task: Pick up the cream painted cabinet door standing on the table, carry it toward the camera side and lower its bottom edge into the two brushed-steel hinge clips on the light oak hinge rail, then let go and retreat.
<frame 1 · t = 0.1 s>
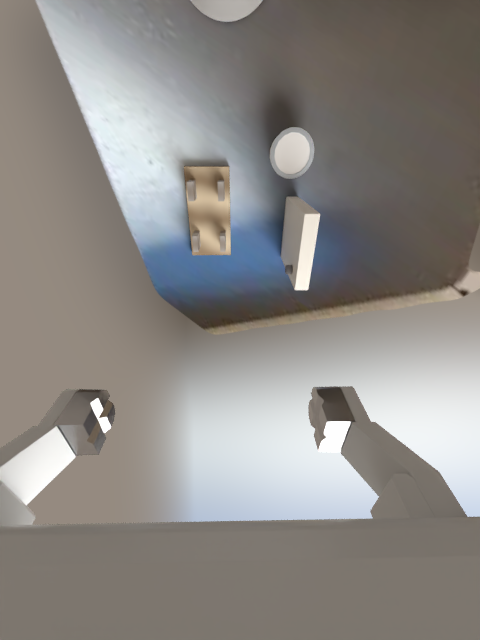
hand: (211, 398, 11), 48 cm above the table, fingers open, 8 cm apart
hinge rail: (209, 213, 52), on the table
shot glass: (285, 153, 47), on the table
door: (288, 228, 54), on the table
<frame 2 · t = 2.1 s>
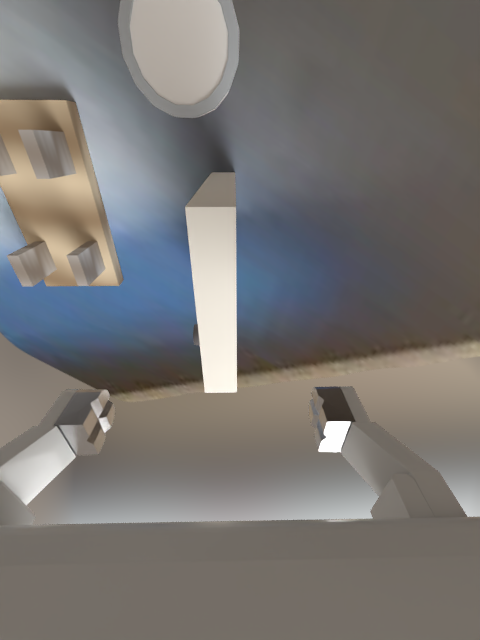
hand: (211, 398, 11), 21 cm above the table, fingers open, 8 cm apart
hinge rail: (63, 206, 26), on the table
shot glass: (195, 71, 21), on the table
door: (225, 236, 28), on the table
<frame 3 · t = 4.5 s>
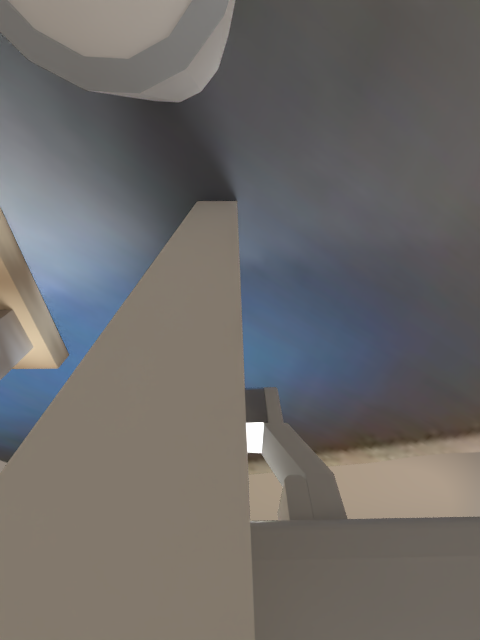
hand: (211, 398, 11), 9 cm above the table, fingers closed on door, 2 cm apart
shot glass: (161, 15, 11), on the table
door: (221, 296, 18), on the table, touching gripper
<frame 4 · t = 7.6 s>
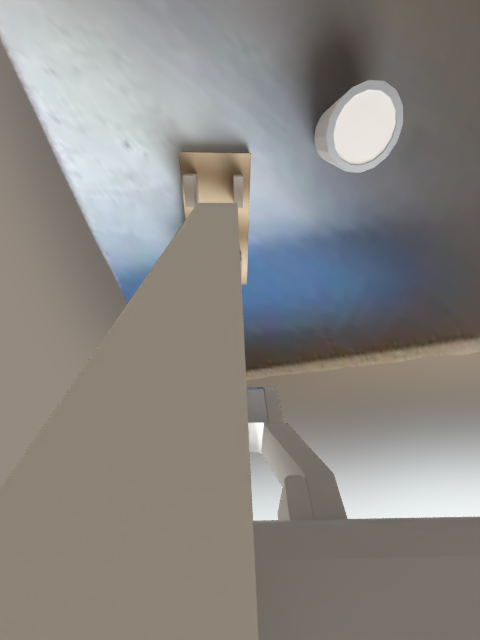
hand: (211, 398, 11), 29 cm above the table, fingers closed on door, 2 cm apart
hinge rail: (217, 224, 35), on the table
shot glass: (338, 134, 30), on the table
door: (221, 298, 18), point 20 cm above the table, touching gripper
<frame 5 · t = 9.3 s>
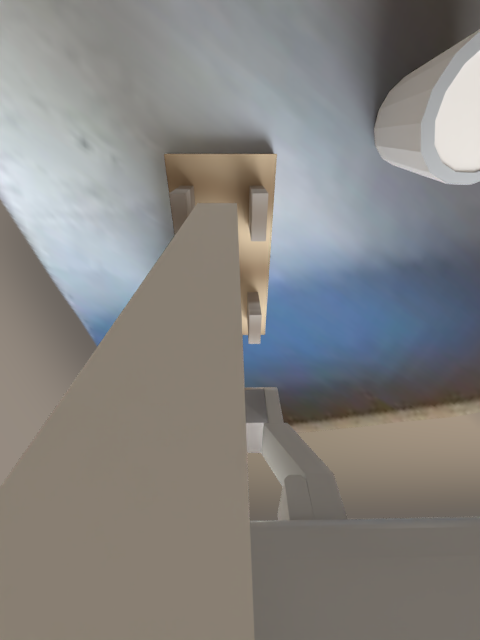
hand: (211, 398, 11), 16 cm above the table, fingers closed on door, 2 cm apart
hinge rail: (224, 256, 24), on the table
shot glass: (412, 121, 19), on the table
door: (221, 298, 18), point 8 cm above the table, touching gripper
when the fingers open (11 cm above the table, at t = 10.8 s): door stays where it is, resting on hinge rail.
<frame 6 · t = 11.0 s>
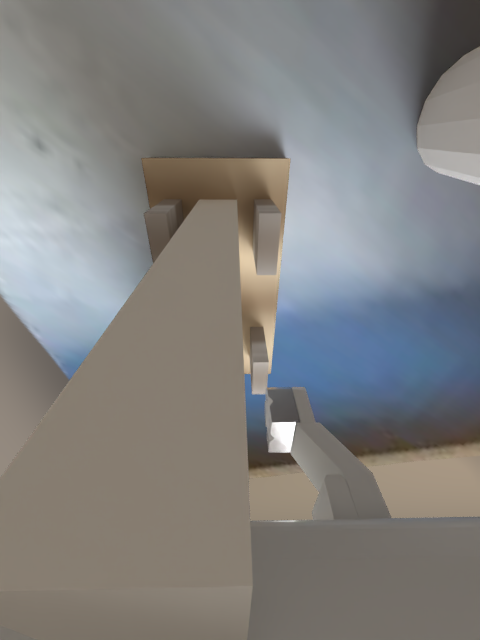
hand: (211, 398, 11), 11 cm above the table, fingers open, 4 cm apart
hinge rail: (222, 282, 20), on the table
shot glass: (467, 116, 15), on the table
door: (221, 292, 18), point 1 cm above the table, touching hinge rail
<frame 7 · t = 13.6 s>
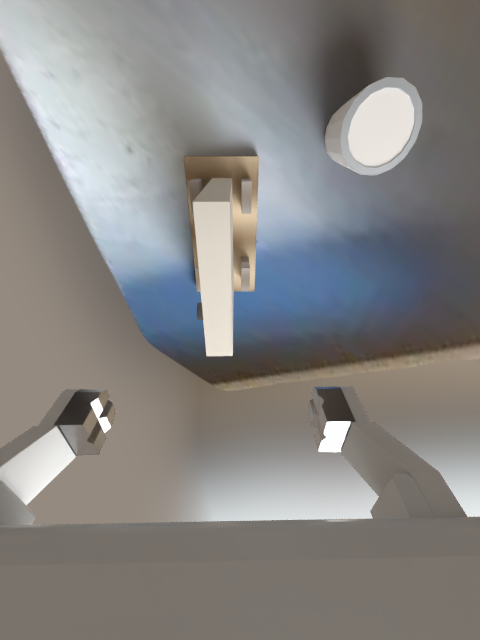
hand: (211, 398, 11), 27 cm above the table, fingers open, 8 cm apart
hinge rail: (224, 229, 33), on the table
shot glass: (350, 134, 28), on the table
door: (224, 233, 32), point 1 cm above the table, touching hinge rail
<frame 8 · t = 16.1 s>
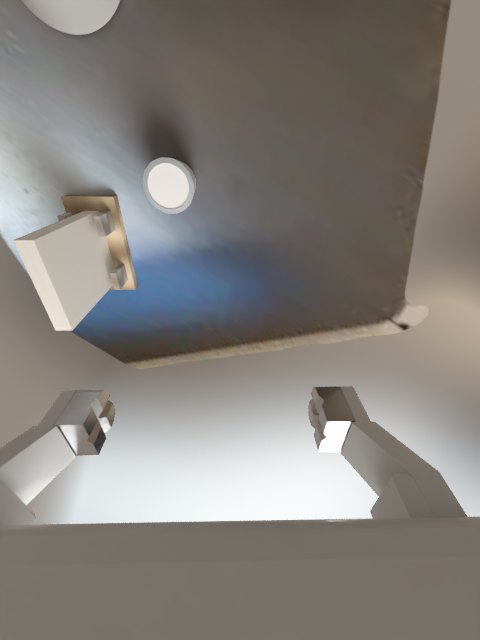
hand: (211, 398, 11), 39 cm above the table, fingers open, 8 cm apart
hinge rail: (105, 245, 46), on the table
shot glass: (178, 181, 41), on the table
door: (102, 247, 45), point 1 cm above the table, touching hinge rail
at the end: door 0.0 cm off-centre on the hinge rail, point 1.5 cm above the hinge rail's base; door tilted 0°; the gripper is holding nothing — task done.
